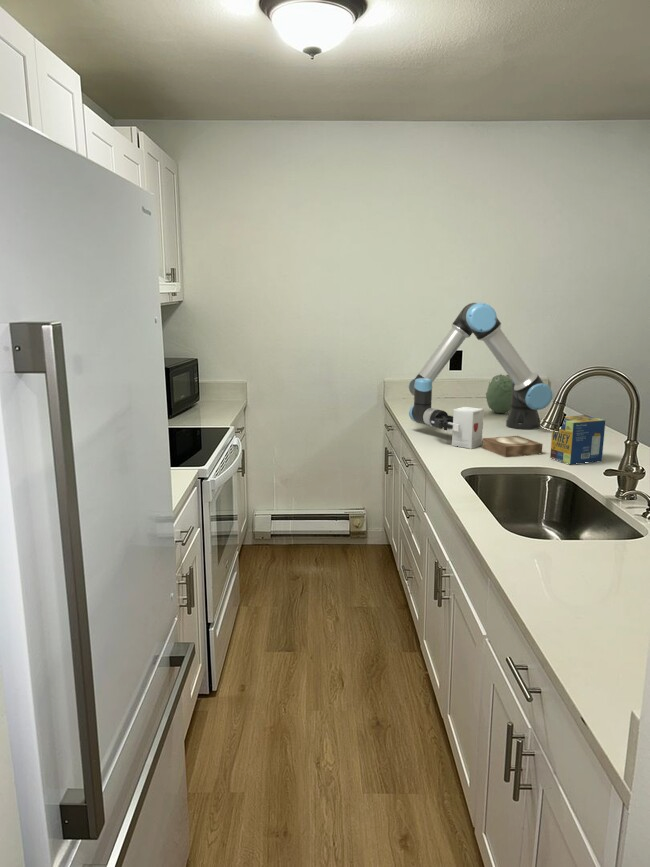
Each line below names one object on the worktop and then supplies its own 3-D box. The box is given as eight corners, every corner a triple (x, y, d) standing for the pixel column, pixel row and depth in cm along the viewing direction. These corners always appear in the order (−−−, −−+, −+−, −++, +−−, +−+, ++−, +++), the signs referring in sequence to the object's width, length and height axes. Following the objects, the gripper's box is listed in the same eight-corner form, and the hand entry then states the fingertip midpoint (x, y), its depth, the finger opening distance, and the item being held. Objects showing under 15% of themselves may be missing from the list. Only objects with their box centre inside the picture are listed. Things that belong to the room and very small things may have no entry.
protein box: (549, 459, 251) (552, 417, 248) (581, 455, 257) (584, 414, 254) (569, 465, 242) (573, 422, 239) (602, 461, 248) (606, 419, 245)
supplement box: (471, 449, 267) (473, 411, 264) (451, 446, 273) (452, 408, 270) (482, 445, 274) (484, 408, 271) (462, 442, 279) (464, 406, 276)
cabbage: (511, 410, 357) (513, 372, 353) (520, 416, 339) (523, 376, 335) (481, 410, 357) (483, 372, 353) (489, 416, 339) (491, 376, 335)
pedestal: (517, 445, 274) (517, 434, 273) (541, 454, 259) (542, 443, 258) (482, 448, 269) (482, 437, 268) (505, 457, 254) (505, 445, 253)
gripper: (457, 424, 295) (492, 433, 276) (413, 429, 284) (446, 439, 265) (458, 407, 294) (493, 414, 275) (413, 411, 282) (447, 420, 264)
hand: (470, 426), depth 270 cm, fingers closed on supplement box, 11 cm apart
